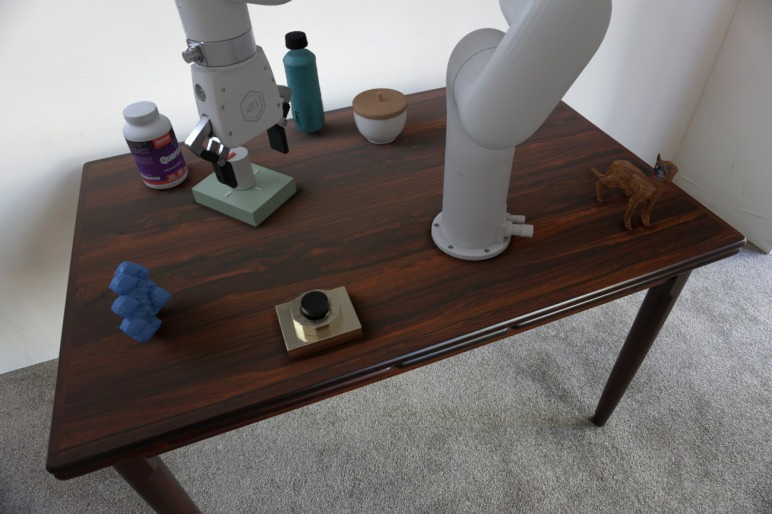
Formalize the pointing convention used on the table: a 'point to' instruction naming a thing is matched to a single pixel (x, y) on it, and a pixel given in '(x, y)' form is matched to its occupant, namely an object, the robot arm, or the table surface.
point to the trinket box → (380, 114)
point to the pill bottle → (153, 145)
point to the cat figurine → (636, 185)
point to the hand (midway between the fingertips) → (255, 167)
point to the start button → (315, 305)
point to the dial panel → (247, 195)
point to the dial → (242, 168)
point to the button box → (318, 324)
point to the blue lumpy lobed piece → (137, 301)
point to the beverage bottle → (303, 83)
